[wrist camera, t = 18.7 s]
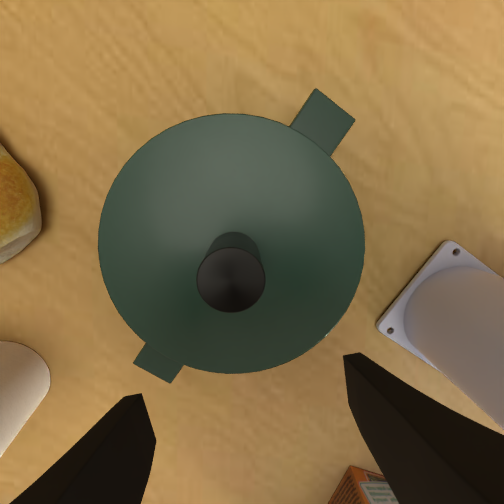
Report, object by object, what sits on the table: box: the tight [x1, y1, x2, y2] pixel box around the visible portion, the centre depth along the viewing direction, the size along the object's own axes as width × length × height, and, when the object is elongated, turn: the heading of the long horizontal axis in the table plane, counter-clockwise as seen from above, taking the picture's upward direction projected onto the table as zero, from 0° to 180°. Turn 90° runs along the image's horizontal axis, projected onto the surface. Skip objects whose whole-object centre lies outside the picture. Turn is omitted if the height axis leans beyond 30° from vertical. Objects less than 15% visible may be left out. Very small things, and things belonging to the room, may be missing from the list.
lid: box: [98, 113, 365, 374], centre depth 12 cm, size 12×12×5 cm
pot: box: [133, 88, 355, 383], centre depth 16 cm, size 11×17×6 cm
